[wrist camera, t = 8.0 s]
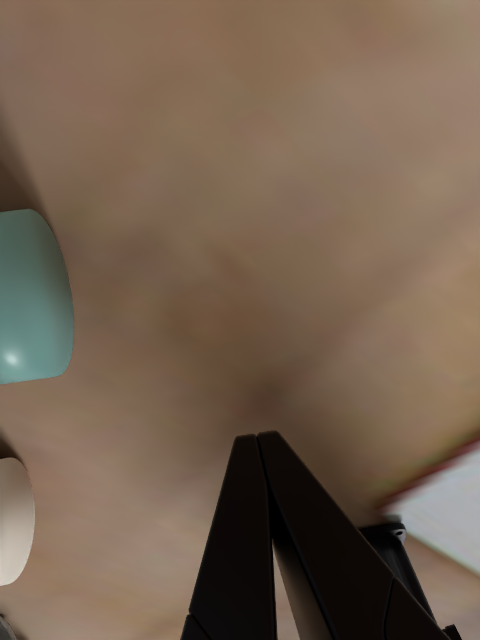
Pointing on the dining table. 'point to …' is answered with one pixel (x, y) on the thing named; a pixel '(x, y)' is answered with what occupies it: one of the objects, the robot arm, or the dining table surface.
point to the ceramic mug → (6, 631)
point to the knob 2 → (33, 300)
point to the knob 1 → (15, 519)
